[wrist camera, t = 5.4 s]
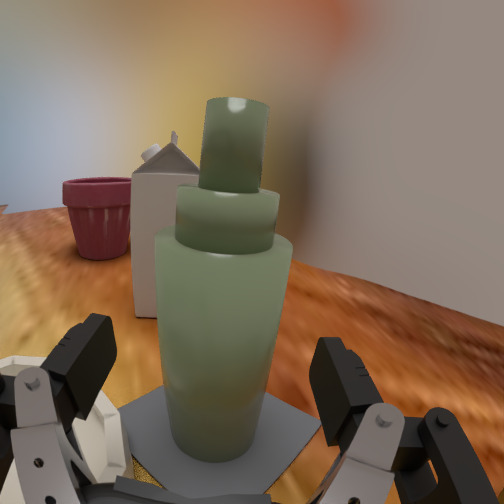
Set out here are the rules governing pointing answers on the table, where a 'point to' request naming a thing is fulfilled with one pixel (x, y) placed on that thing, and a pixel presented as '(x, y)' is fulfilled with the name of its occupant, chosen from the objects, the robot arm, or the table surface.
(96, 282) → the table surface
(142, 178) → the milk carton
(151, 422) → the mat
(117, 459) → the bowl
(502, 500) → the flower pot
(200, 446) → the olive bottle
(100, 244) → the plant pot
